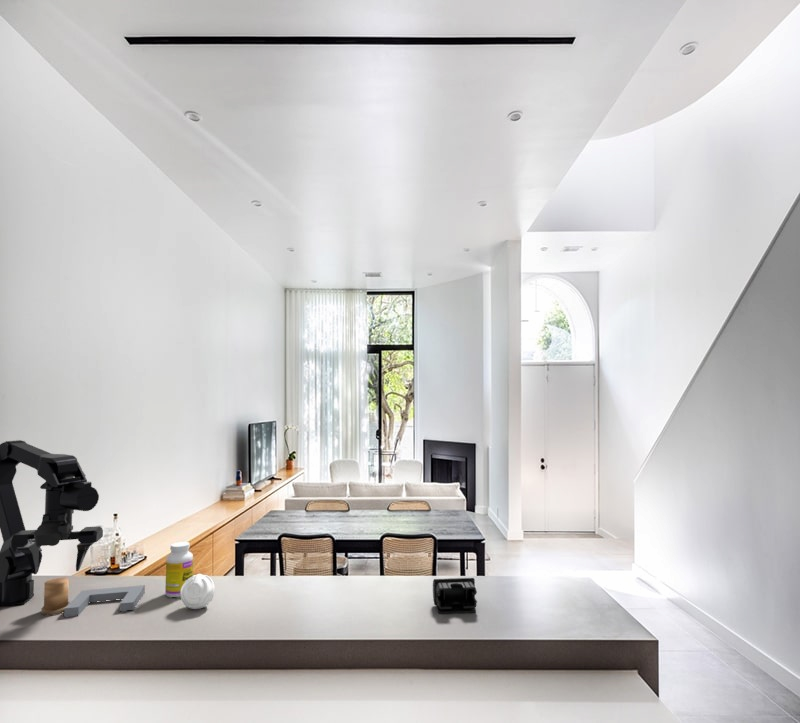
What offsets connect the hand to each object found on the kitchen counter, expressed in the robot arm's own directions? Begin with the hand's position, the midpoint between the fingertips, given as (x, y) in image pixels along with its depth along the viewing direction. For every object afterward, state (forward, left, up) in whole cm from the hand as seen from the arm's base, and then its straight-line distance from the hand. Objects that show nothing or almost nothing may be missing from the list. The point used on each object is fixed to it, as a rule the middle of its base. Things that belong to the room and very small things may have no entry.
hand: (56, 572), depth 132 cm
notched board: (+11, +1, -9) cm, 14 cm away
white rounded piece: (+34, -7, -9) cm, 36 cm away
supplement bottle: (+28, +4, -9) cm, 29 cm away
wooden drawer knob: (0, 0, -9) cm, 9 cm away
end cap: (+95, -23, -9) cm, 98 cm away
